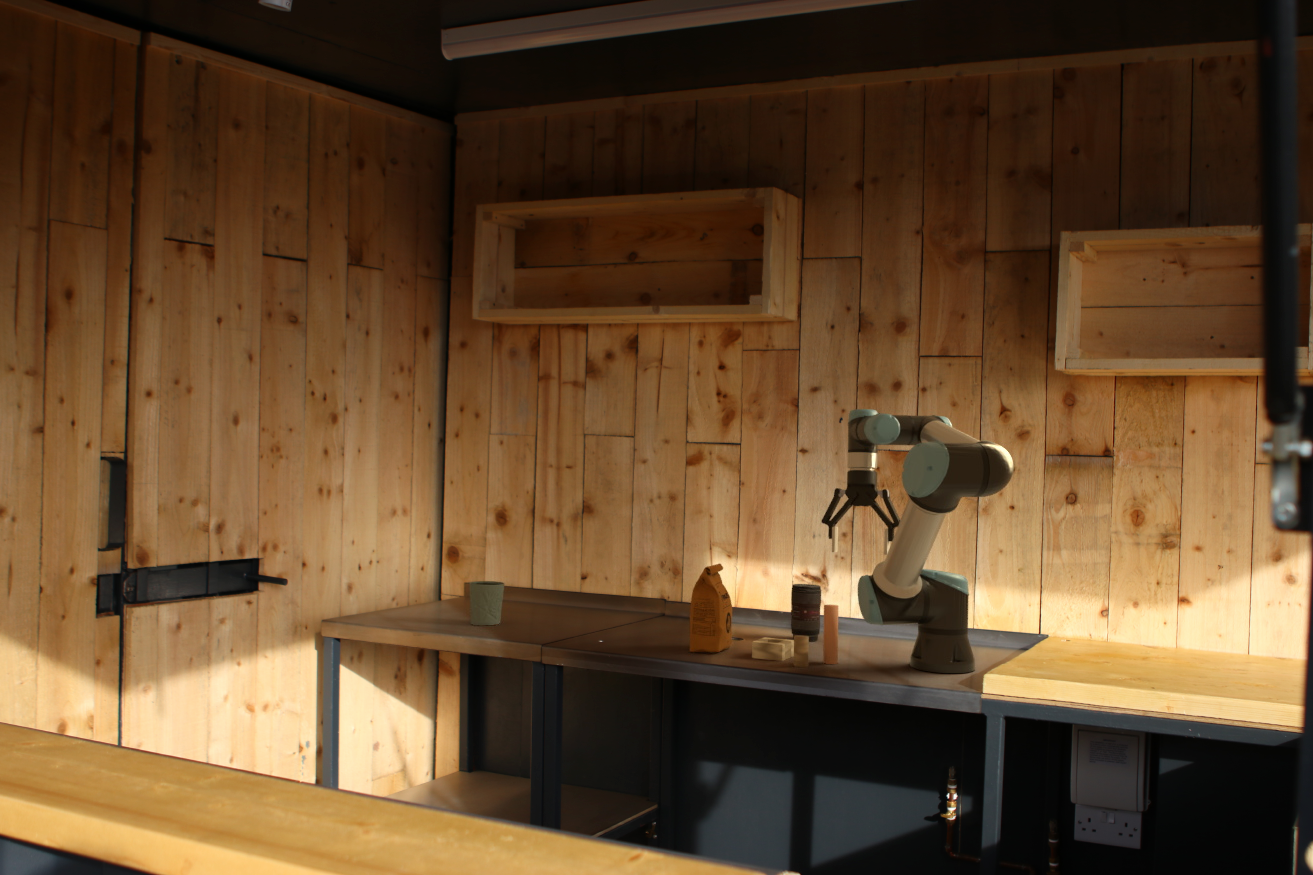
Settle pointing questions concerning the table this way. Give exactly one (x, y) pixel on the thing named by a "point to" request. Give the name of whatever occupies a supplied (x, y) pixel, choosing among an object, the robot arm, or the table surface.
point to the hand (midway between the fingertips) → (860, 553)
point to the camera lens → (806, 610)
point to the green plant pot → (486, 602)
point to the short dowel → (801, 651)
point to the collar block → (773, 649)
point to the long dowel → (830, 634)
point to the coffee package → (710, 613)
